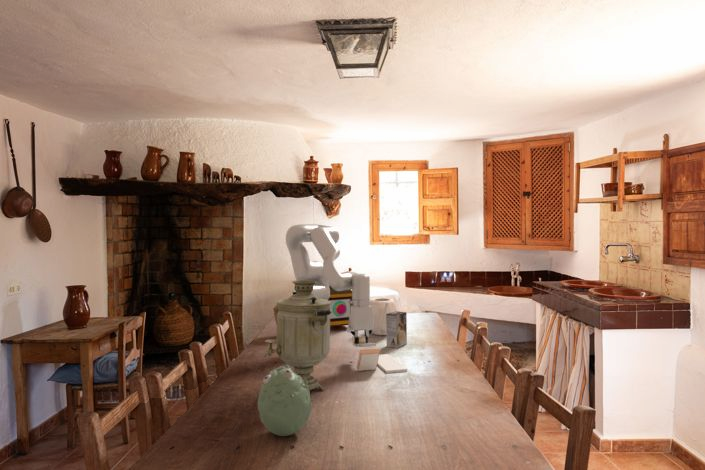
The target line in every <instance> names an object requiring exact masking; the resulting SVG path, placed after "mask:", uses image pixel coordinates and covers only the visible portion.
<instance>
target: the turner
mask: <svg viewBox="0 0 705 470" xmlns="http://www.w3.org/2000/svg"><path fill="white" fill-rule="evenodd" d="M358 337H359V344H355V343H354V336H353V335H352V345H353V346H354V347H355V348H363V347H365V348H366V347H376V346H377V343H375V342H368V343H366V340H365V336H364V335H358Z"/></svg>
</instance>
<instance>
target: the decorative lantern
mask: <svg viewBox="0 0 705 470" xmlns="http://www.w3.org/2000/svg"><path fill="white" fill-rule="evenodd" d="M328 284H329V283H328ZM329 288H330V297H329V299H328V301H330V302H331V304H330V307H329V310H330V311H331V312H332V313H331V314H330V328H331V327H333V328H334V327H341V326H348V325H349V315H350V308H351V306H352V304H349V301H351V300H352V289H350V290H343V291H336V290H334V289H333V288H332V287H331V286H330V285H329Z"/></svg>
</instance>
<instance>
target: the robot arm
mask: <svg viewBox="0 0 705 470" xmlns="http://www.w3.org/2000/svg"><path fill="white" fill-rule="evenodd" d="M339 233H340V232H339V231H338V229H337V228H335V227H334V226H330V225H323V224H316V223H313V224H312V223H310V224H309V223H307V224H306V223H305V224H304V223H303V224H300V223H299V224H294V225H291V226H290V227H289V228H288V229H287V231H286V233H285V244H286V247H287V250H288V252H289V256H290V260H291V265H292V270H293V274H294V278H295V281H296V280H312V281H316V283H315V284H314V285H313V291H312V294H313V295H315V296H317V297H318V298H321V299H326V300H328V299H329V297H330V288H329V285H330V286H331V287H332V288H333V289H334V290H336V291H343V290H350V289H351V291H352V300H351V301H349V304H352V306H351V308H350V315H349V325H347V328H346V329H345V331H346V332H348V333H349V334H351V335H352V337H353V336H354V343H355V344H359V337H358V336H359V331H363V332H364V335H363V336H365V340H366V343H369V337H370V335H371V334H372V332H373V331H374V330H376V327H375V325H374V319H373V310H372V306H370V300H371V299H370V298H371V296H370V294H371V291H370V289H371V288H370V286H371V285H370V283H371V282H370V281H371V280H370V276H369V274H366V273H358V272H354V271H349V272H341V273H340V272H339V271H338V270H337V268H336V267H335V264H334V261H336V260H337V259H338V258H339V257H340V255H341V251H340V249H339V247H338V245H337V244H336V243H338V242H339V239H340V234H339ZM303 243H312V245H314V247H315V248H316V250H317V252H318V254H319V256H320V257H321V258H322V260H323V263H322V262H320V261H318V260H311V259H310V256H309V252H308V250H307V248H306V246H304V245H303ZM328 283H329V284H328Z"/></svg>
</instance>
